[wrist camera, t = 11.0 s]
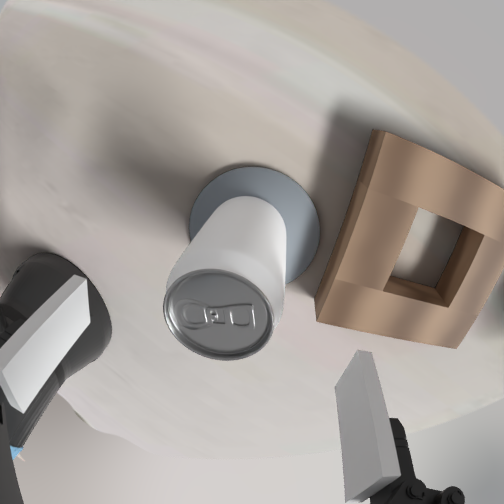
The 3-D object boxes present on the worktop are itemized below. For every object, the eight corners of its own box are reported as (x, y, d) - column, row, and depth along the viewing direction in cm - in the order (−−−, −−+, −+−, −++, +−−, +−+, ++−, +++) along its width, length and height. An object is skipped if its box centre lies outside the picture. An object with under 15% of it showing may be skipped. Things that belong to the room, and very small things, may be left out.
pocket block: (314, 299, 28) (316, 321, 25) (372, 129, 21) (385, 131, 18) (445, 328, 28) (456, 348, 25) (508, 194, 21) (529, 205, 18)
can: (205, 196, 25) (142, 261, 14) (285, 192, 24) (281, 260, 13) (214, 267, 27) (170, 362, 17) (287, 266, 27) (283, 368, 16)
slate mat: (183, 269, 29) (181, 272, 28) (203, 153, 24) (201, 153, 23) (297, 299, 29) (297, 303, 28) (336, 187, 24) (337, 189, 23)
